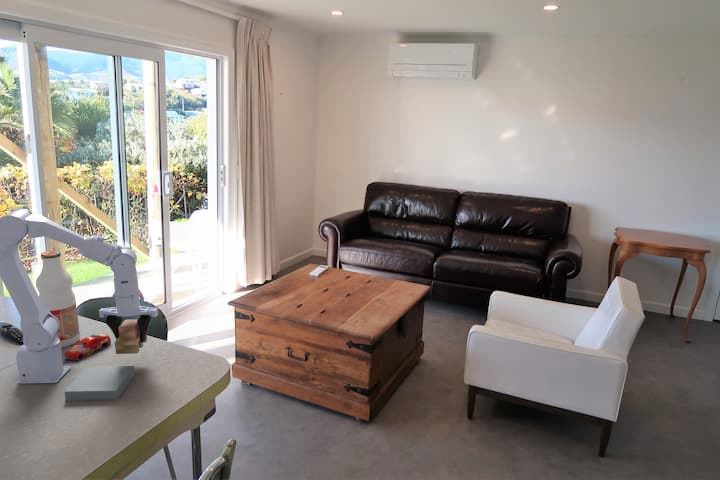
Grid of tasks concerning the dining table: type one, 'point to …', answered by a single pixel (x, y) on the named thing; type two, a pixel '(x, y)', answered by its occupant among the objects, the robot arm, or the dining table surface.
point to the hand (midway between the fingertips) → (131, 340)
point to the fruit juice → (59, 297)
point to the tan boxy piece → (128, 345)
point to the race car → (87, 346)
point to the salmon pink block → (129, 329)
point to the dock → (100, 383)
